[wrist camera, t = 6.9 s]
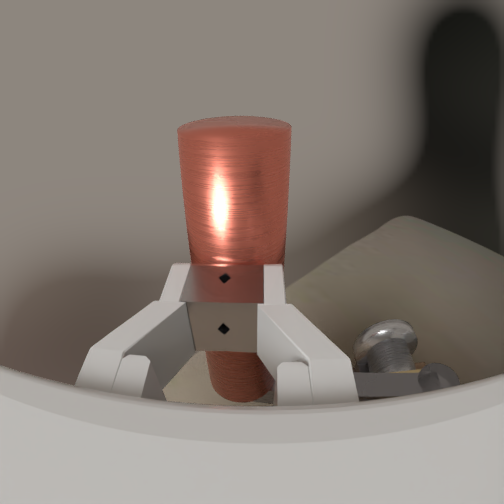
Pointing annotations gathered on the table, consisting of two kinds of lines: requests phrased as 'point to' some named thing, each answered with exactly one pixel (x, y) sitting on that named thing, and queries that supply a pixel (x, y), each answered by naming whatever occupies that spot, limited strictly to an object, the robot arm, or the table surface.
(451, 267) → the table surface
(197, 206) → the lever
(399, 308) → the table surface
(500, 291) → the table surface
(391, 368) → the valve pipe
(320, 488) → the robot arm
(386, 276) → the table surface
